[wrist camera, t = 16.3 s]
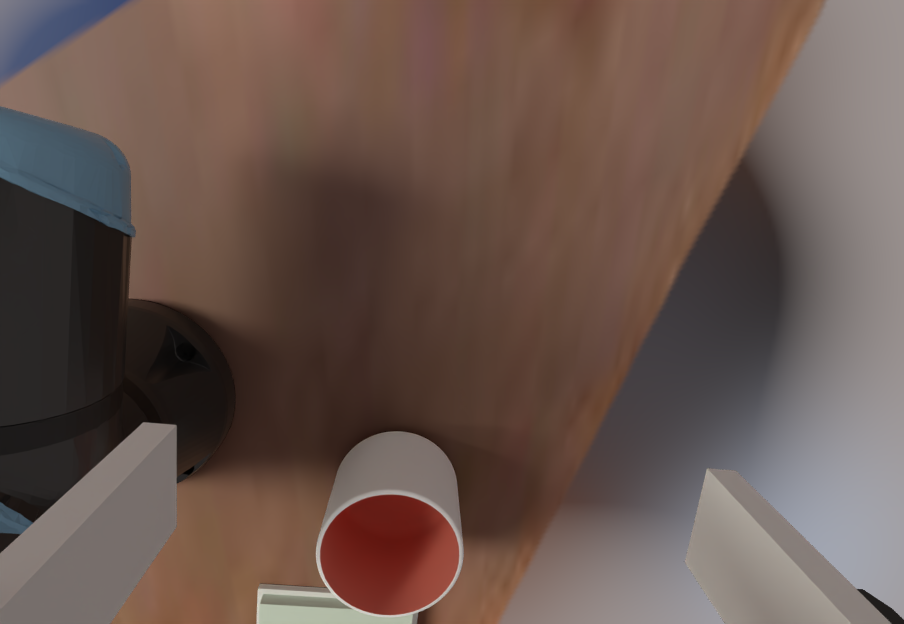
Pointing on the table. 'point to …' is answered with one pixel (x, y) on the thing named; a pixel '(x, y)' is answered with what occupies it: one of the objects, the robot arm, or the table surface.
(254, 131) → the table surface
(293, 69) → the table surface
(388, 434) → the cup
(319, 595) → the mat
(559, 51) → the table surface
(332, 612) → the lid
